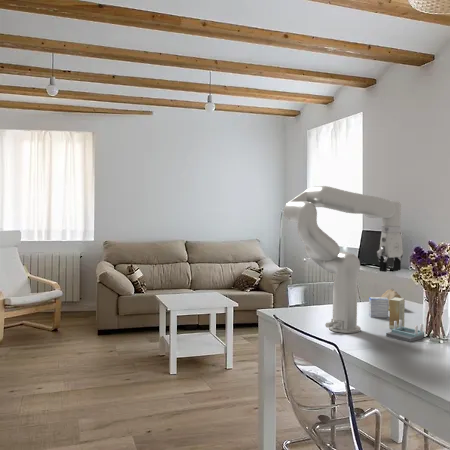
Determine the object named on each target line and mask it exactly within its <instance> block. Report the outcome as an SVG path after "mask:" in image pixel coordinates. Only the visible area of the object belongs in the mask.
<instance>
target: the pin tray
mask: <svg viewBox="0 0 450 450" xmlns="http://www.w3.org/2000/svg"><path fill="white" fill-rule="evenodd" d="M423 327H424V324H422V323H420V324H419V326H418V325H417V324H416V325H414V328H410V327H405V326H404V327H402V320H399V328H397V321H394V329H391V331H390V332H386V335H385V336H386V337H388V338H392V339H396V340H399V341H400V340H401V341H404V342H408V343H411V342H415V341H418V340H420V339H421V340H422V339H424V338H423V337H424V328H423Z"/></svg>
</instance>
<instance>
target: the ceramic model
mask: <svg viewBox="0 0 450 450" xmlns="http://www.w3.org/2000/svg"><path fill="white" fill-rule="evenodd" d="M380 297H385V298H387V299H388V300H389V305H388V312H390V299H392V298H394V297H396V298H402V296H401V295H400V294H399V293H398V292H397V291H396V290H395V289H394V288H390V289H387V290H386V291H385V292H384V293H382V294H381V296H380Z"/></svg>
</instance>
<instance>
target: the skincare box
mask: <svg viewBox="0 0 450 450" xmlns="http://www.w3.org/2000/svg"><path fill="white" fill-rule="evenodd" d="M405 302H406V300H405V298H404V297H401V298H396V297H394V298H392V299H390V311H389V318H388V320H389V322H388V323H389V325H388V326H389V329H391V330H392V329H394V321H397V328H399V320H402V327H405V307H406V306H405V305H406V303H405Z"/></svg>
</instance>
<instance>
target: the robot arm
mask: <svg viewBox="0 0 450 450" xmlns="http://www.w3.org/2000/svg"><path fill="white" fill-rule="evenodd" d="M317 208H325V209H329V210H334V211H339V212H343V213H345V214H356V215H357V214H363V215H364V216H366V217H368V218H370V219H381V234H380V241H379V243H380V244H379V249H378V250H377V251H376V256H377V259H378V262H379V272H384V273H386V272H387V271H388V262H387V260H388V259H391V258H393V267H392V269H393V270H395V271H401V270H402V269H401V268H402V266H401V265H402V264H401V263H402V260H403V259H402V258H403V254H404V251H405V250H404V249H403V238H402V234H401V224H402V222H401V221H402V219H401V215H402V212H401V211H402V204H401V202H400V201H398V200H389V199H386V198H383V197H378V196H373V195H368V194H362V193H358V192H352V191H349V190H343V189H339V188H337V187H332V186H327V185H319V186H312V187H311V186H310V188H308V189H306V190H304V191H303V192H301V193H300V194H298V195H297V196H296V197H294V198H293V199H291V200H289V201H288V202H287V203H286V204H285V205H284V207H283V217H284V219H286V221H287V222H290V223H297V234H298V237H299V240H300V241H302V243H303V244H304V250H305V253H306V256H307V257H309V259H311V260H312V261H313V262H314V263H316V264H317V265H318V266H319V267H321V268H322V269H323V270H325V271H326V272H328V273H331V274H335V278H334V281H333V287H332V318H331V319H330V320H331V321H328V322H326V323H325V327H326V328H328V330H330V331H332V332H335V333H342V334H355V333H356V334H357V333H359V332H360V331H361V330H362V329H361V327H360V326H359V325H357V324H358V321H357V320H358V319H357V318H358V317H357V316H358V279H359V273H360V269H361V262H360V259H359V257H358V256H357V255H355V254H354V253H351V252H348V251H341V250H340V249H341V248H340V246H339V244H338V243H337V242H336V240H334V239H333V238H332V237H331V236H329V235H328V234H327V233H326V232H325V231H323V229H322V228H321V227H320V226H319V225H318V219H317V218H318V210H317Z"/></svg>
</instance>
